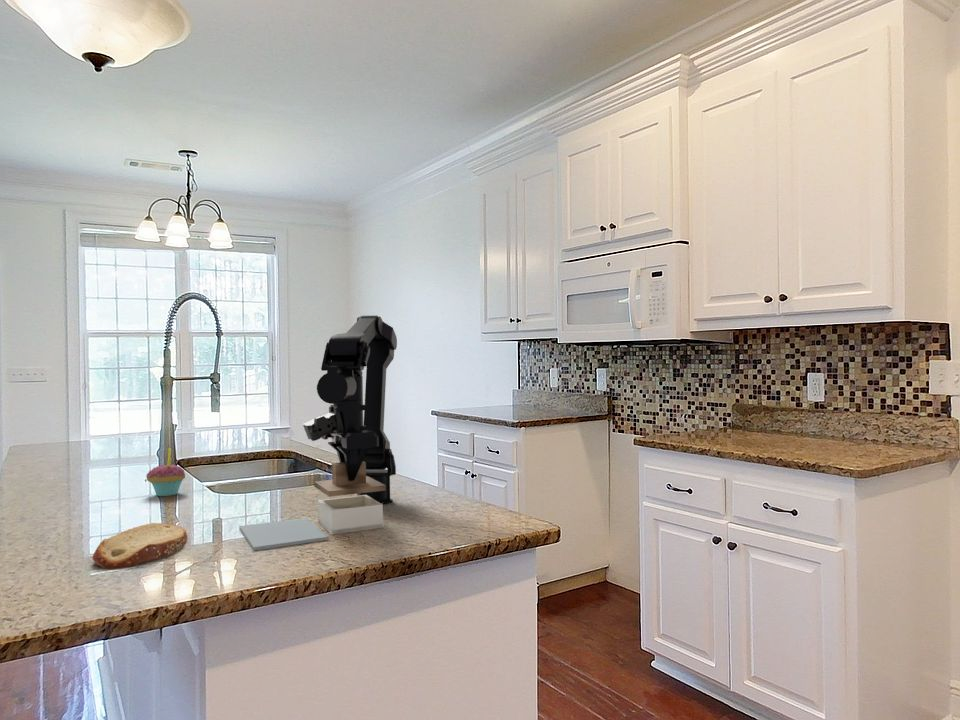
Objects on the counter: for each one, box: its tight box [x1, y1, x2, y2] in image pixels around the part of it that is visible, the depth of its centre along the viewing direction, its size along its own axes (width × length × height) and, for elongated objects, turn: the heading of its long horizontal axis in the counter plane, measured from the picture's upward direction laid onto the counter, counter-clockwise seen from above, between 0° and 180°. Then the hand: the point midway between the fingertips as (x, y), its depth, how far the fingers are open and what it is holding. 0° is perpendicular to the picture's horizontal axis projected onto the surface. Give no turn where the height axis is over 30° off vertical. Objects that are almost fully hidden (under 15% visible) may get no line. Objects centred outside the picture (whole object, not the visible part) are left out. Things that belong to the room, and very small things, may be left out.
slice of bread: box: [92, 522, 188, 570], centre depth 118 cm, size 18×18×4 cm
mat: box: [238, 517, 329, 552], centre depth 126 cm, size 13×16×1 cm
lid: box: [313, 461, 386, 498], centre depth 132 cm, size 11×11×5 cm
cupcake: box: [145, 445, 186, 497], centre depth 163 cm, size 9×8×12 cm
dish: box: [317, 495, 384, 536], centre depth 132 cm, size 10×10×4 cm
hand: (349, 479), depth 132 cm, fingers closed on lid, 2 cm apart
